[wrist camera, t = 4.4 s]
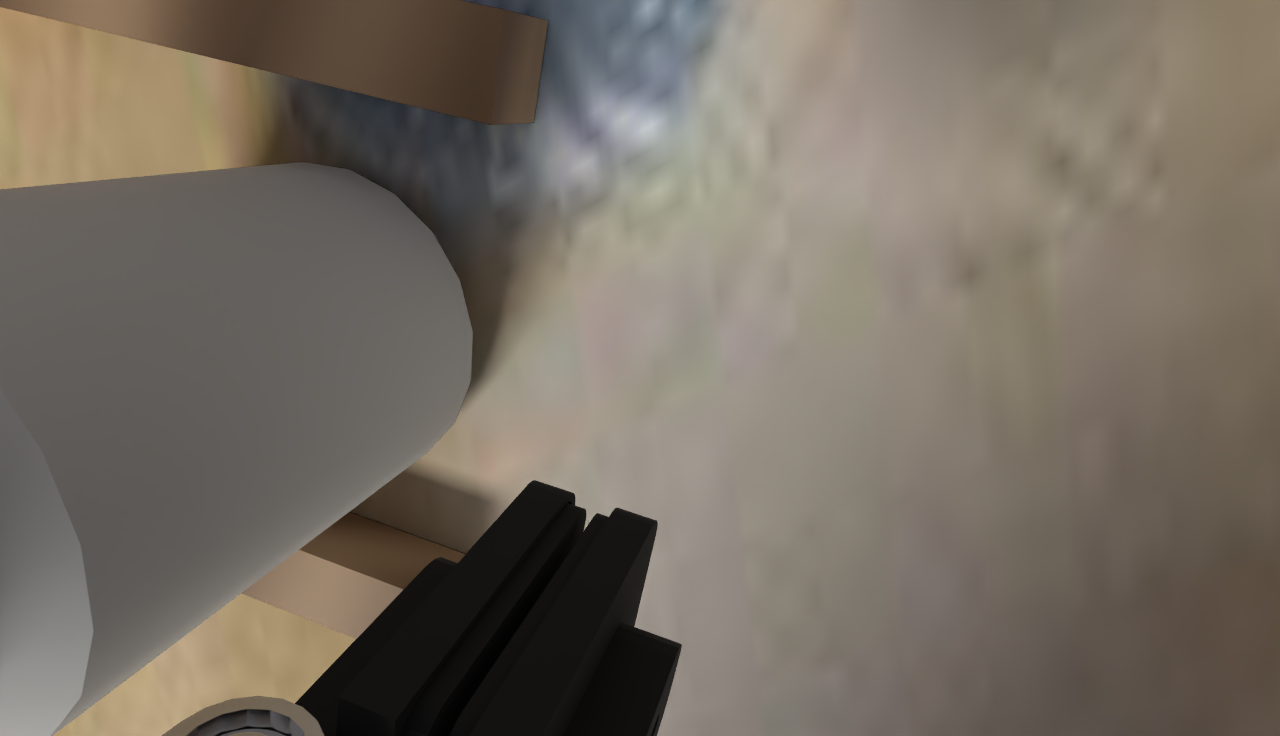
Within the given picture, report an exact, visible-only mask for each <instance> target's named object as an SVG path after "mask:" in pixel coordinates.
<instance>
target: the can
mask: <svg viewBox="0 0 1280 736" xmlns="http://www.w3.org/2000/svg"><path fill="white" fill-rule="evenodd" d="M472 344H473V331H472V327H471V323H470V319H469V315H468V311H467V307H466V303H465V299H464V295H463V291H462V287H461V283H460V280H459V278H458V276H457V274H456V273H455V271H454V269H453V267H452V266H451V264H450V262H449V260H448V259H447V257H446V255H445V253H444V251H443V250H442V248H441V246H440V244H439V243H438V241H437V239H436V237H435V235H434V234H433V232H432V231H431V230H430V229H429V228H428V227H427V226H426V225H425V224H424V223H423V222H422V221H421V220H420V219H419V218H418V217H417V216H416V215H415V214H414V213H413V212H412V211H411V210H410V209H409V208H408V207H407V206H406V205H405V204H404V203H403V202H402V201H401V200H400V199H399V198H398V197H397V196H396V195H395V194H394V193H392V192H390V191H388V190H386V189H384V188H383V187H381V186H379V185H377V184H375V183H373V182H371V181H370V180H368V179H366V178H364V177H362V176H360V175H359V174H357V173H355V172H353V171H351V170H349V169H343V168H337V167H331V166H325V165H319V164H313V163H307V162H297V163H286V164H275V165H264V166H253V167H242V168H231V169H220V170H209V171H198V172H187V173H176V174H165V175H154V176H143V177H132V178H121V179H110V180H99V181H89V182H78V183H67V184H56V185H45V186H34V187H23V188H12V189H1V190H0V736H53V735H54V734H55V733H57V732H58V731H59V730H61V729H62V728H63V727H65V726H66V725H67V724H69V723H70V722H71V721H73V720H74V719H75V718H77V717H78V716H79V715H81V714H82V713H83V712H84V711H86V710H87V709H88V708H90V707H91V706H92V705H94V704H95V703H96V702H98V701H99V700H100V699H102V698H103V697H104V696H106V695H107V694H108V693H110V692H111V691H112V690H114V689H115V688H116V687H118V686H119V685H120V684H122V683H123V682H124V681H126V680H127V679H128V678H130V677H131V676H132V675H134V674H135V673H136V672H138V671H139V670H140V669H141V668H143V667H144V666H145V665H147V664H148V663H149V662H151V661H152V660H153V659H155V658H156V657H157V656H159V655H160V654H161V653H163V652H164V651H165V650H167V649H168V648H169V647H171V646H172V645H173V644H175V643H176V642H177V641H179V640H180V639H181V638H183V637H184V636H185V635H187V634H188V633H189V632H191V631H192V630H193V629H195V628H196V627H197V626H198V625H200V624H201V623H202V622H204V621H205V620H206V619H208V618H209V617H210V616H212V615H213V614H214V613H216V612H217V611H218V610H220V609H221V608H222V607H224V606H225V605H226V604H228V603H229V602H230V601H232V600H233V599H234V598H236V597H237V596H238V595H240V594H241V593H242V592H244V591H245V590H246V589H248V588H249V587H250V586H252V585H253V584H254V583H255V582H257V581H258V580H259V579H261V578H262V577H263V576H265V575H266V574H267V573H269V572H270V571H271V570H273V569H274V568H275V567H277V566H278V565H279V564H281V563H282V562H283V561H285V560H286V559H287V558H289V557H290V556H291V555H293V554H294V553H295V552H297V551H298V550H299V549H301V548H302V547H303V546H305V545H306V544H307V543H309V542H310V541H311V540H313V539H314V538H315V537H316V536H318V535H319V534H320V533H322V532H323V531H324V530H326V529H327V528H328V527H330V526H331V525H332V524H334V523H335V522H336V521H338V520H339V519H340V518H342V517H343V516H344V515H346V514H347V513H348V512H350V511H351V510H352V509H354V508H355V507H356V506H358V505H359V504H360V503H362V502H363V501H364V500H366V499H367V498H368V497H370V496H371V495H372V494H373V493H375V492H376V491H377V490H379V489H380V488H381V487H383V486H384V485H385V484H387V483H388V482H389V481H391V480H392V479H393V478H395V477H396V476H397V475H399V474H400V473H401V472H403V471H404V470H405V469H407V468H408V467H409V466H411V465H412V464H413V463H415V462H416V461H417V460H419V459H420V458H421V457H423V456H424V455H425V454H427V453H428V452H429V451H430V449H431V448H432V447H433V446H434V445H435V444H436V443H437V442H438V441H439V440H440V439H441V437H442V436H443V435H444V434H445V433H446V432H447V431H448V430H449V429H450V428H451V426H452V425H453V424H454V423H455V421H456V418H457V416H458V413H459V411H460V408H461V406H462V403H463V400H464V398H465V395H466V393H467V390H468V388H469V385H470V382H471V366H472Z"/></svg>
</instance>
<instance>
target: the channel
mask: <svg viewBox="0 0 1280 736" xmlns="http://www.w3.org/2000/svg"><path fill="white" fill-rule="evenodd" d="M0 7H3V8H7V9H12V10H16V11H20V12H24V13H28V14H32V15H36V16H41V17H45V18H49V19H53V20H57V21H61V22H66V23H70V24H74V25H78V26H82V27H86V28H91V29H95V30H99V31H103V32H107V33H111V34H115V35H120V36H124V37H128V38H132V39H136V40H140V41H145V42H149V43H153V44H157V45H161V46H165V47H169V48H174V49H178V50H182V51H186V52H190V53H194V54H199V55H203V56H207V57H211V58H215V59H219V60H223V61H228V62H232V63H236V64H240V65H244V66H248V67H253V68H257V69H261V70H265V71H269V72H273V73H278V74H282V75H286V76H290V77H294V78H298V79H302V80H307V81H311V82H315V83H319V84H323V85H327V86H332V87H336V88H340V89H344V90H348V91H352V92H356V93H361V94H365V95H369V96H373V97H377V98H381V99H386V100H390V101H394V102H398V103H402V104H406V105H410V106H415V107H419V108H423V109H427V110H431V111H435V112H440V113H444V114H448V115H452V116H456V117H460V118H465V119H469V120H473V121H477V122H481V123H485V124H489V125H496V124H520V123H534V117H535V110H536V103H537V96H538V89H539V82H540V75H541V68H542V61H543V54H544V47H545V40H546V33H547V26H548V21H547V20H543V19H539V18H535V17H531V16H527V15H524V14H520V13H516V12H512V11H508V10H504V9H500V8H495V7H490V6H485V5H480V4H476V3H471V2H466V1H461V0H0ZM465 555H466V554H463V553H461V552H458V551H455V550H452V549H450V548H447V547H444V546H441V545H439V544H436V543H433V542H430V541H428V540H425V539H422V538H419V537H417V536H414V535H411V534H408V533H406V532H403V531H400V530H397V529H395V528H392V527H389V526H386V525H384V524H381V523H378V522H375V521H373V520H370V519H367V518H364V517H362V516H359V515H356V514H353V513H351V512H348V513H347V514H346V515H344V516H343V517H342V518H340V519H339V520H338V521H336V522H335V523H334V524H332V525H331V526H330V527H328V528H327V529H326V530H324V531H323V532H322V533H320V534H319V535H318V536H316V537H315V538H314V539H313V540H311V541H310V542H309V543H307V544H306V545H305V546H303V547H302V548H301V549H299V550H298V551H297V552H295V553H294V554H293V555H291V556H290V557H289V558H287V559H286V560H285V561H283V562H282V563H281V564H279V565H278V566H277V567H275V568H274V569H273V570H271V571H270V572H269V573H267V574H266V575H265V576H263V577H262V578H261V579H259V580H258V581H257V582H255V583H254V584H253V585H252V586H250V587H249V588H248V589H246V590H245V591H244V592H242V594H245V595H247V596H250V597H252V598H255V599H257V600H260V601H262V602H265V603H267V604H270V605H272V606H275V607H277V608H280V609H282V610H285V611H287V612H290V613H292V614H295V615H297V616H300V617H302V618H305V619H307V620H310V621H312V622H315V623H317V624H320V625H322V626H325V627H327V628H330V629H332V630H335V631H338V632H340V633H343V634H345V635H348V636H350V637H353V638H355V639H357V638H358V637H359V636H360V635H361V634H362V633H363V632H364V631H365V630H366V628H367V627H368V626H369V625H370V624H371V623H372V622H373V621H374V620H375V619H376V618H377V617H378V616H379V615H380V614H381V613H382V612H383V611H384V610H385V609H386V607H387V606H388V605H389V604H390V603H391V602H392V601H393V600H394V599H395V598H396V597H397V596H398V595H399V594H400V593H401V592H402V591H403V590H404V589H405V588H406V587H407V585H408V584H409V583H410V582H411V581H412V580H413V579H414V578H415V577H416V576H417V575H418V574H419V573H420V572H421V571H422V570H423V569H424V568H425V567H426V566H427V565H428V564H429V563H430V562H431V561H433V560H434V559H436V558H440V557H442V558H445V559H448V560H450V561H453V562H456V563H458V562H459V561H460V560H461V559H462V558H463V557H464V556H465Z"/></svg>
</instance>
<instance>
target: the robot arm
mask: <svg viewBox="0 0 1280 736" xmlns="http://www.w3.org/2000/svg"><path fill="white" fill-rule="evenodd" d="M585 521H586V510H585V509H583V508H580V507H577V506H575V495H574V493H572V492H569V491H566V490H563V489H560V488H556V487H553V486H550V485H547V484H544V483H541V482H538V481H532V482H530V483H529V484H528V485H527V486H526V487H525V489H524V490H523V491H522V492H521V493H520V494H519V495H518V496H517V498H516V499H515V500H514V501H513V502H512V503H511V504H510V505H509V506H508V508H507V509H506V510H505V511H504V512H503V513H502V514H501V515H500V517H499V518H498V519H497V520H496V521H495V522H494V523H493V524H492V526H491V527H490V528H489V529H488V530H487V531H486V532H485V533H484V534H483V536H482V537H481V538H480V539H479V540H478V541H477V542H476V543H475V545H474V546H473V547H472V548H471V549H470V550H469V551H468V552H467V554H466V555H465V556H464V557H463V558H462V559H461V560H460V561H459V562H458V563H456V562H453V561H450V560H448V559H445V558H442V557H440V558H436V559H434V560H433V561H431V562H430V563H429V564H428V565H427V566H426V567H425V568H424V569H423V570H422V571H421V572H420V573H419V574H418V575H417V576H416V577H415V578H414V579H413V580H412V581H411V582H410V583H409V584H408V585H407V587H406V588H405V589H404V590H403V591H402V592H401V593H400V594H399V595H398V596H397V597H396V598H395V599H394V600H393V601H392V602H391V603H390V604H389V605H388V606H387V607H386V609H385V610H384V611H383V612H382V613H381V614H380V615H379V616H378V617H377V618H376V619H375V620H374V621H373V622H372V623H371V624H370V625H369V626H368V627H367V628H366V630H365V631H364V632H363V633H362V634H361V635H360V636H359V637H358V638H357V639H356V640H355V641H354V642H353V643H352V644H351V645H350V646H349V647H348V648H347V649H346V650H345V652H344V653H343V654H342V655H341V656H340V657H339V658H338V659H337V660H336V661H335V662H334V663H333V664H332V665H331V666H330V667H329V668H328V669H327V670H326V671H325V672H324V674H323V675H322V676H321V677H320V678H319V679H318V680H317V681H316V682H315V683H314V684H313V685H312V686H311V687H310V688H309V689H308V690H307V691H306V692H305V693H304V695H303V696H302V697H301V698H300V699H299V700H298V701H297V702H296V703H295V704H294V703H292V702H289V701H287V700H284V699H280V698H272V697H263V696H253V697H245V698H236V699H230V700H227V701H224V702H221V703H218V704H215V705H212V706H209V707H206V708H204V709H202V710H201V711H199V712H197V713H195V714H194V715H192V716H190V717H188V718H187V719H185V720H183V721H181V722H180V723H178V724H177V725H176V726H174V727H173V728H172V729H170V730H169V731H167V732H166V733H165V734H163V735H162V736H657V733H658V730H659V727H660V723H661V720H662V717H663V714H664V710H665V707H666V704H667V700H668V696H669V693H670V689H671V686H672V682H673V678H674V674H675V671H676V667H677V663H678V659H679V655H680V651H681V646H682V645H681V644H679V643H677V642H674V641H671V640H668V639H666V638H663V637H660V636H657V635H654V634H652V633H649V632H646V631H643V630H641V629H638V628H635V627H634V625H635V621H636V617H637V613H638V608H639V604H640V600H641V596H642V591H643V587H644V583H645V579H646V574H647V570H648V566H649V562H650V557H651V553H652V549H653V545H654V540H655V536H656V531H657V524H658V523H657V521H656V520H653V519H650V518H647V517H644V516H641V515H638V514H635V513H632V512H629V511H626V510H623V509H620V508H615V509H614V511H613V512H612V513H611V515H610V516H609V517H607V516H604V515H601V514H596V515H595V516H594V517H593V519H592V520H591V522H590V523H589V525H588V526H587V527H586V529H585V530H584V526H585ZM583 531H584V532H583Z"/></svg>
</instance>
